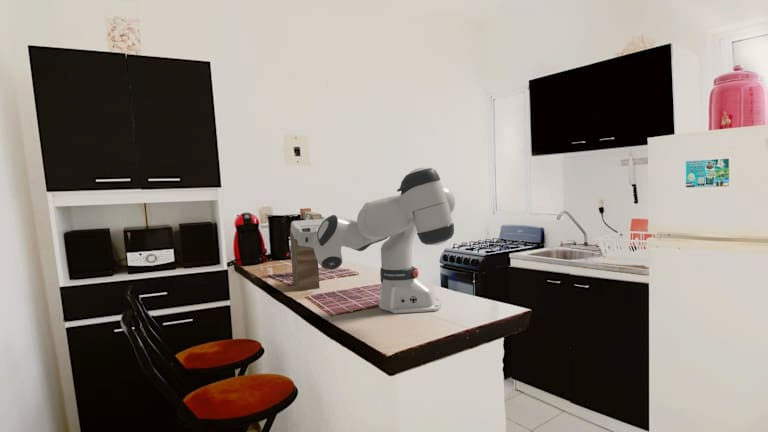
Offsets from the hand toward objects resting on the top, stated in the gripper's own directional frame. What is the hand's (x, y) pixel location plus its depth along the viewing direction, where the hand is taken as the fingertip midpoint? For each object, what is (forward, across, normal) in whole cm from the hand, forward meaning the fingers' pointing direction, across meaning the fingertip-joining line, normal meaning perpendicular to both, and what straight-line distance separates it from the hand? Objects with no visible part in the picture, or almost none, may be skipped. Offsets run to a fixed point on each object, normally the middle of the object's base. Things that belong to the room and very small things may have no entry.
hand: (314, 216), depth 163 cm
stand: (+5, +1, +42) cm, 42 cm away
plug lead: (+7, 0, +6) cm, 9 cm away
